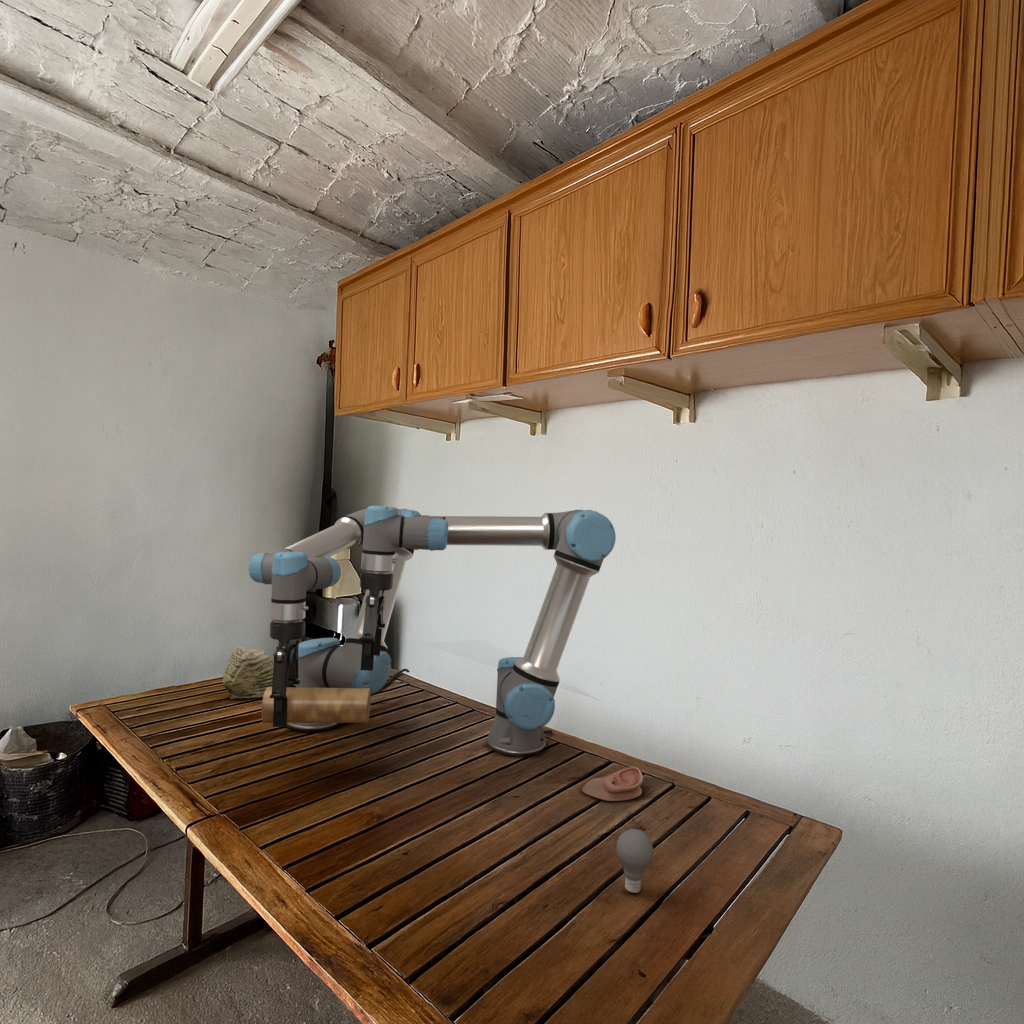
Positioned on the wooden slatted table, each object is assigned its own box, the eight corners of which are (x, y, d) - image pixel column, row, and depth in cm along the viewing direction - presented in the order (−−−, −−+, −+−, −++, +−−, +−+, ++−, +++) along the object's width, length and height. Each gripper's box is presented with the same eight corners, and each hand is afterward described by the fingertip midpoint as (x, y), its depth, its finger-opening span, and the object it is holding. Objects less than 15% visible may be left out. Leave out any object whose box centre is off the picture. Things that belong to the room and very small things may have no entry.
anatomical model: (581, 779, 138) (585, 758, 149) (580, 797, 138) (585, 775, 149) (643, 787, 135) (643, 766, 147) (642, 806, 136) (642, 783, 147)
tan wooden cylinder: (260, 727, 140) (261, 693, 140) (270, 715, 148) (271, 682, 148) (366, 728, 143) (367, 694, 142) (370, 716, 150) (371, 684, 150)
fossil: (218, 695, 195) (220, 647, 195) (278, 685, 208) (279, 640, 207) (228, 703, 189) (230, 653, 188) (289, 692, 201) (290, 645, 201)
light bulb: (610, 879, 108) (613, 822, 108) (644, 879, 109) (647, 822, 109) (619, 902, 102) (622, 840, 102) (655, 901, 103) (658, 840, 103)
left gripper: (294, 630, 134) (290, 736, 135) (314, 612, 155) (310, 704, 155) (257, 629, 133) (253, 736, 134) (282, 611, 154) (278, 704, 154)
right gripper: (388, 579, 136) (380, 678, 136) (398, 567, 161) (391, 650, 161) (352, 577, 135) (345, 676, 135) (368, 565, 160) (361, 648, 160)
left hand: (284, 719), depth 144 cm, fingers closed on tan wooden cylinder, 8 cm apart
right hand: (370, 662), depth 148 cm, fingers open, 13 cm apart
